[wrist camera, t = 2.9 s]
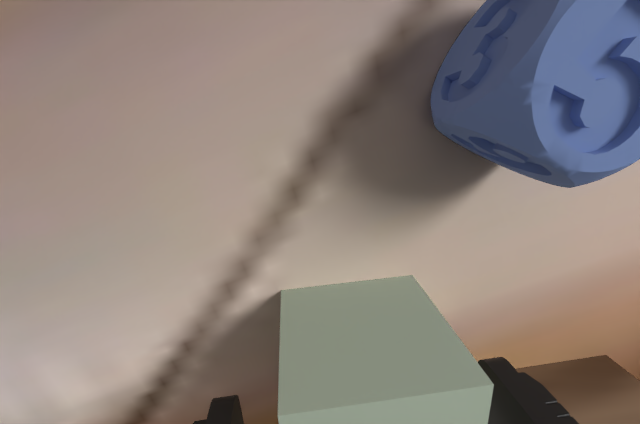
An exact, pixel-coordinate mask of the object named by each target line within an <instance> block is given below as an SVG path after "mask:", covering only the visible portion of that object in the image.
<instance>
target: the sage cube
mask: <svg viewBox="0 0 640 424" xmlns="http://www.w3.org/2000/svg"><path fill="white" fill-rule="evenodd" d="M493 387H494V384H493V383H492V381H491V380H490V379H489V377H488V376H487V375H486V373H485V372H484V371H483V369H482V368H481V367H480V365H479V364H478V363H477V361H476V360H475V359H474V357H473V356H472V354H471V353H470V352H469V350H468V349H467V348H466V346H465V345H464V344H463V342H462V341H461V340H460V338H459V337H458V336H457V334H456V333H455V332H454V330H453V329H452V328H451V326H450V325H449V324H448V322H447V321H446V320H445V318H444V317H443V316H442V314H441V313H440V312H439V310H438V309H437V308H436V306H435V305H434V303H433V302H432V301H431V299H430V298H429V297H428V295H427V294H426V293H425V291H424V290H423V289H422V287H421V286H420V285H419V283H418V282H417V281H416V279H415V278H414V277H413V275H409V276H401V277H392V278H383V279H375V280H366V281H358V282H349V283H340V284H332V285H323V286H315V287H306V288H297V289H289V290H281V309H280V347H279V384H278V422H279V424H488V419H489V412H490V406H491V400H492V394H493Z"/></svg>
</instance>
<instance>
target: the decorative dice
mask: <svg viewBox="0 0 640 424" xmlns="http://www.w3.org/2000/svg"><path fill="white" fill-rule="evenodd" d="M431 110H432V117H433V121H434V125H435V127H436V129H437V130H438V131H439V132H441V133H442V134H443V135H445V136H446V137H447V138H449V139H450V140H452V141H454V142H455V143H457V144H459V145H460V146H462V147H464V148H466V149H468V150H470V151H471V152H473V153H475V154H477V155H479V156H481V157H483V158H485V159H488V160H490V161H492V162H494V163H496V164H498V165H501V166H503V167H505V168H508V169H510V170H512V171H515V172H517V173H520V174H523V175H525V176H528V177H531V178H533V179H536V180H539V181H542V182H545V183H549V184H552V185H556V186H561V187H567V188H571V187H576V186H580V185H584V184H588V183H591V182H594V181H597V180H600V179H602V178H604V177H607V176H609V175H611V174H614V173H616V172H618V171H620V170H622V169H624V168H626V167H628V166H629V165H631V164H633V163H634V162H636V161H637V160H639V159H640V0H487V1H486V2H485V3H484V4H483V5H482V6H481V7H480V9H479V10H478V11H477V12H476V13H475V15H474V16H473V17H472V18H471V20H470V21H469V22H468V23H467V25H466V26H465V28H464V29H463V30H462V32H461V33H460V35H459V36H458V38H457V39H456V41H455V42H454V44H453V45H452V47H451V49H450V50H449V52H448V54H447V55H446V57H445V59H444V61H443V63H442V65H441V67H440V69H439V71H438V74H437V76H436V79H435V82H434V85H433V88H432V93H431Z"/></svg>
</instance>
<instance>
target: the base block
mask: <svg viewBox="0 0 640 424" xmlns="http://www.w3.org/2000/svg"><path fill="white" fill-rule="evenodd" d="M515 370H516V371H517V372H518V373H521V372H525V373H526V374H528V375H529V376H531V377H532V378H534V379H535V380H537V381H538V382H540V383H541V384H542V385H543V386H544V387H545V388H546V389H547V390H548V391H549V392H550V393H551V394H552V395H553V396H554V397H555V398H556V400H557V402H558V403H560V404H561V405H562V406H563V407H564V408H565V409H566V410H567V411H568V412H569V415H570V416H571V417H573V418H574V419H575V420H576V421H577V422H578V423H579V424H640V381H639V380H638V379H636V378H635V377H634V376H632V375H631V374H630V373H629V372H627V371H626V370H625V369H623V368H622V367H621V366H620V365H618V364H617V363H616V362H614V361H613V360H612V359H611V358H609V357H608V356H607V355H603V356H597V357H590V358H583V359H577V360H570V361H564V362H557V363H551V364H544V365H537V366H531V367H524V368H518V369H515Z"/></svg>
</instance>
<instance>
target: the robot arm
mask: <svg viewBox="0 0 640 424" xmlns="http://www.w3.org/2000/svg"><path fill="white" fill-rule="evenodd" d="M478 364H479V365H480V367H481V368H482V369H483V371H484V372H485V373H486V375H487V376H488V377H489V379H490V380H491V381H492V383H493V384H494V387H493V394H492V400H491V406H490V412H489V419H488V424H579V423H578V422H577V421H576V420H575V419H574V418H573V417H571V416H570V415H569V412H568V411H567V410H566V409H565V408H564V407H563V406H562V405H561V404H560V403H558V402H557V400H556V398H555V397H554V396H553V395H552V394H551V393H550V392H549V391H548V390H547V389H546V388H545V387H544V386H543V385H542V384H541V383H540V382H538V381H537V380H535V379H534V378H532V377H531V376H529V375H528V374H526V373H525V372H521V373H518V372H517V371H516V370H515V368H514V367H513V366H512V365H511V364H510V363H509V362H508V361H507V360H506V359H505V358H503V357H497V358H491V359H484V360H479V361H478ZM193 424H244V422H243V417H242V412H241V407H240V402H239V398H238V395H234V396H227V397H220V398H214V399H213V400H212V402H211V405H210V409H209V413H208V417H207V419H206V420H200V421H194V423H193Z"/></svg>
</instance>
